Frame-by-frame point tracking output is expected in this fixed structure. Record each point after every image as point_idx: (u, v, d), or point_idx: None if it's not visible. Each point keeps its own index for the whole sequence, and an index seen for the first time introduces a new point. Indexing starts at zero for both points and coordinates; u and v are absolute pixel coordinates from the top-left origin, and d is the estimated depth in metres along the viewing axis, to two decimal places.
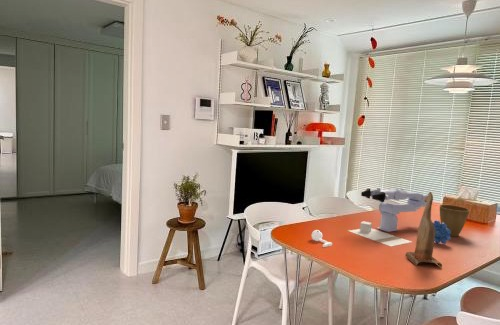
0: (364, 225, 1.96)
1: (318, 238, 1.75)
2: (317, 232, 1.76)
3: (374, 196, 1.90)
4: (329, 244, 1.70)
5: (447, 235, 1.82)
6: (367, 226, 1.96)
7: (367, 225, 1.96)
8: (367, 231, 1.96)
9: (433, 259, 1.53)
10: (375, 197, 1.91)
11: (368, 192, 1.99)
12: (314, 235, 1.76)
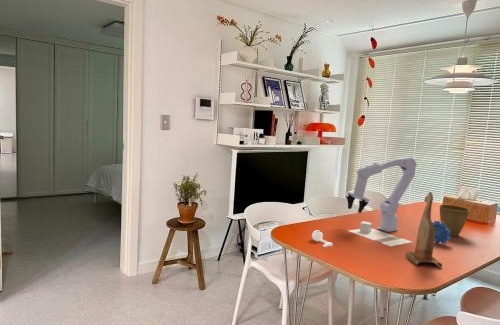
0: (364, 225, 1.96)
1: (318, 238, 1.75)
2: (317, 232, 1.75)
3: (360, 211, 2.00)
4: (329, 244, 1.70)
5: (447, 235, 1.82)
6: (367, 226, 1.96)
7: (367, 225, 1.96)
8: (367, 231, 1.96)
9: (433, 259, 1.53)
10: (361, 209, 2.01)
11: (350, 200, 2.06)
12: (314, 235, 1.75)
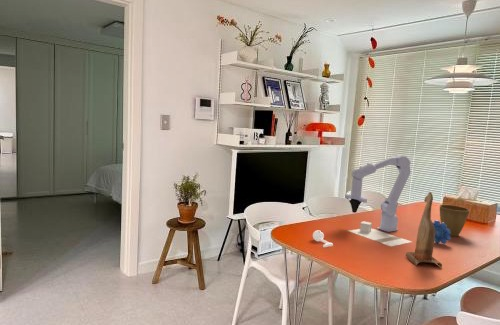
0: (364, 225, 1.96)
1: (319, 238, 1.75)
2: (318, 232, 1.75)
3: (355, 211, 2.04)
4: (330, 244, 1.70)
5: (447, 235, 1.82)
6: (367, 226, 1.96)
7: (367, 225, 1.96)
8: (367, 231, 1.96)
9: (433, 259, 1.53)
10: (356, 209, 2.05)
11: None
12: (315, 235, 1.75)
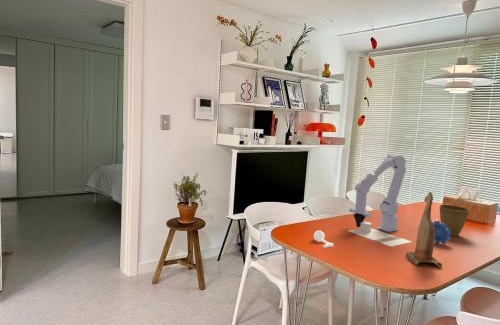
0: (364, 225, 1.96)
1: (320, 238, 1.74)
2: (319, 232, 1.75)
3: (359, 225, 2.02)
4: (330, 245, 1.69)
5: (447, 235, 1.82)
6: (367, 226, 1.96)
7: (367, 225, 1.96)
8: (367, 231, 1.96)
9: (433, 259, 1.53)
10: (360, 223, 2.02)
11: None
12: (316, 235, 1.75)
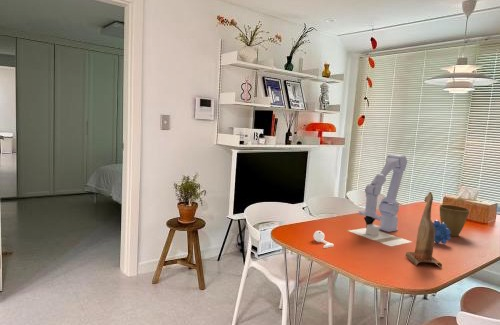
0: (370, 227, 1.91)
1: (320, 239, 1.74)
2: (319, 233, 1.75)
3: None
4: (330, 245, 1.69)
5: (447, 235, 1.82)
6: (373, 229, 1.90)
7: (373, 228, 1.90)
8: (372, 234, 1.90)
9: (433, 259, 1.53)
10: None
11: None
12: (316, 236, 1.75)
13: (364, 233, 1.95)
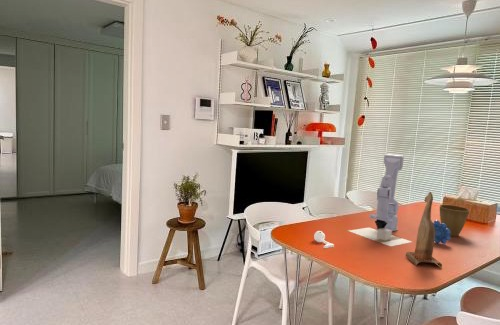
0: (381, 231, 1.85)
1: (320, 239, 1.74)
2: (319, 233, 1.74)
3: None
4: (331, 245, 1.68)
5: (447, 235, 1.82)
6: (384, 233, 1.84)
7: (384, 232, 1.84)
8: (383, 238, 1.84)
9: (433, 259, 1.53)
10: None
11: None
12: (316, 236, 1.74)
13: (364, 233, 1.95)
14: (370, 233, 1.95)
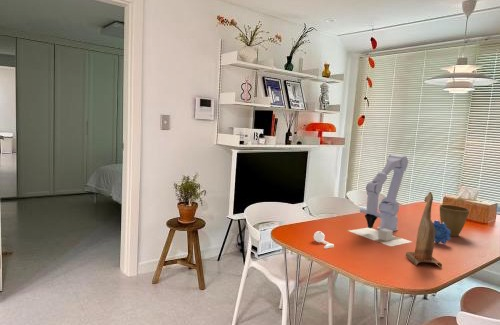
0: (382, 232, 1.85)
1: (320, 239, 1.73)
2: (319, 233, 1.74)
3: (370, 226, 1.95)
4: (331, 245, 1.68)
5: (447, 235, 1.82)
6: (384, 233, 1.83)
7: (384, 232, 1.83)
8: (384, 238, 1.83)
9: (433, 259, 1.53)
10: (372, 224, 1.95)
11: None
12: (316, 236, 1.74)
13: (364, 233, 1.95)
14: (370, 233, 1.95)
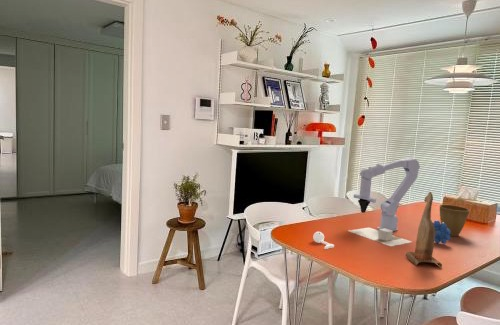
0: (382, 232, 1.85)
1: (320, 240, 1.73)
2: (319, 234, 1.73)
3: (363, 211, 2.04)
4: (331, 246, 1.68)
5: (447, 235, 1.82)
6: (384, 233, 1.83)
7: (384, 232, 1.83)
8: (384, 238, 1.83)
9: (433, 259, 1.53)
10: (364, 209, 2.04)
11: None
12: (316, 237, 1.73)
13: (364, 233, 1.95)
14: (370, 233, 1.95)
